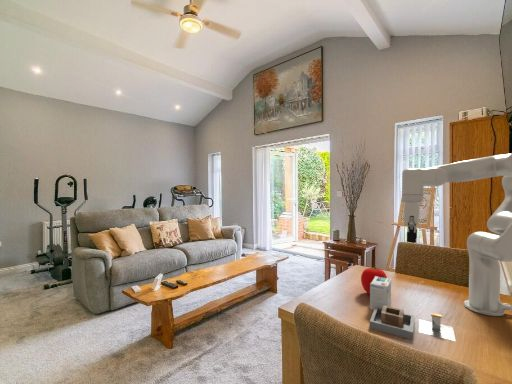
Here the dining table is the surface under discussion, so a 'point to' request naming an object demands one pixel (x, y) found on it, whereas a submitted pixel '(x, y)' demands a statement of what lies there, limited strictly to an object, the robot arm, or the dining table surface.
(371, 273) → the red rounded piece
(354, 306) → the dining table surface
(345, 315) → the dining table surface
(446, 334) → the white piece
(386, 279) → the light bulb box
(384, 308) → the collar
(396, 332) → the tray
